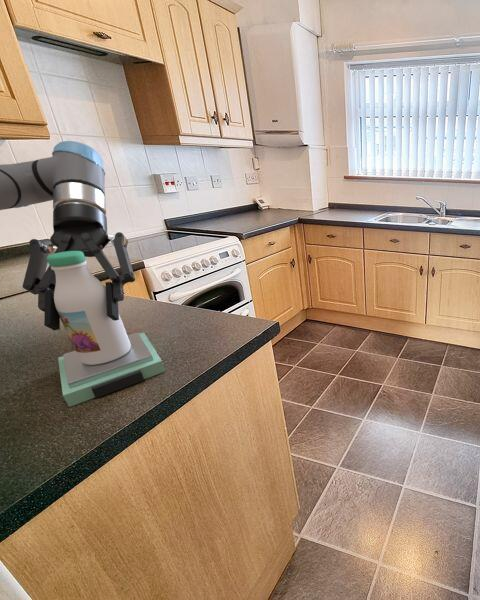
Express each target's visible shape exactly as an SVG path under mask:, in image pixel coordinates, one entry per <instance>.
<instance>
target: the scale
mask: <svg viewBox="0 0 480 600" xmlns="http://www.w3.org/2000/svg"><path fill="white" fill-rule="evenodd" d="M139 334H140V336H141V338H142V339H143V341H144V343H145V344H146V346H147V348H148V349H149V351H150V353H151V354H152V356H153V359H154V360H151V361H148V362H145V363H142V364H139V365H136V366H134V367H131V368H128V369H125V370H122V371H119V372H116V373H113V374H110V375H107V376H104V377H102V378H99V379H96V380H93V381H90V382H87V383H84V384H81V385H78V386H75V387H73V388H70V387H69V385H68V382H67V375H66V369H65V362H64V356H63V355H62V356H58V357H57V360H58V361H57V362H58V370H59V375H60V377H59V378H60V385H61V391H62V397H63V399H64V401H65V403H66V405H67V407H68V408H71V407H74V406H76V405H79V404H81V403H84V402H87V401H89V400H93V399H98V398H101V397H103V396H107V395H109V394H112V393H114V392H118V391H120V390H122V389H125V388H128V387H132V386H133V385H135V384H139V383H141V382H144V381H145V380H146V379H150V378H151V377H154V376H157V375H160V374H162V373H165V372H166V369H165V366H164V363H163V360H162V359H161V357H160V355H159V354H158V353H157V351H156V349H155V347H154V346H153V344H152V343H151V341H150V340H149V338H148V336H147V335H146V334H145V332H139Z"/></svg>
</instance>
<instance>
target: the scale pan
mask: <svg viewBox="0 0 480 600" xmlns="http://www.w3.org/2000/svg"><path fill="white" fill-rule="evenodd" d="M127 336H128V338H129V341H130V344H131V348H130V350H129V351H128V352H127V353H126V354H125V355H123V356H121V357H119V358H117V359H115V360H112V361H109V362H106V363H101V364H95V365H87V364H84V363H82V362H81V361H80V359H79V358H78V356H77V354H76V351H75V350H72V351H68V352H66V353H62V356H64V362H65V369H66V375H67V382H68V385H69V387H70V388H73V387H75V386H78V385H81V384H84V383H87V382H90V381H93V380H96V379H99V378H102V377H104V376H107V375H110V374H113V373H116V372H119V371H122V370H125V369H128V368H131V367H134V366H136V365H139V364H142V363H145V362H148V361H151V360H154V359H153V356H152V354H151V353H150V351H149V349H148V348H147V346H146V344H145V343H144V341H143V339H142V338H141V336H140V332H138V331H137V332H134V333H130V334H127Z"/></svg>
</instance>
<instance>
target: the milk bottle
mask: <svg viewBox="0 0 480 600" xmlns="http://www.w3.org/2000/svg"><path fill="white" fill-rule="evenodd" d="M54 253H55V252H54ZM54 253H52V254H48V255H49V256H47V261H48V263H47V264H48V266H49V265H50V266H51V269H52V270H54V272H55V275H56V286H55V292H54V302H55V306H56V309H57V312H58V314H59V317H60V322H61V323H62V326H63V328H64V330H65V332H66V335H67V336H68V338H69V341H70V343H71V346H72V347H73V349H74V351H76V354H77V356H78V358H79V359H80V361H81V362H82V363H84V364H87V365H95V364H101V363H106V362H109V361H112V360H115V359H117V358H119V357H121V356H123V355H125V354H126V353H127V352H128V351H129V350H130V348H131V344H130V341H129V338H128V336H127V335H128V332H127V331H126V328H125V325H124V323H123V319H122V318H121V315H120V314H119V320H115V321H114V320H112V319H111V318H110V317H108V316H107V304H106V284H104V283H103V282H102V281H100V280H99V278H97V277H96V276H95V275H94V274H93V273H92V272H91V271H90V269H89V267H88V266H87V264H88V261H87V260H86V257H85V256H84V254H83V252H81V251H66V252H60V253H55V254H54Z"/></svg>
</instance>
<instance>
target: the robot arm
mask: <svg viewBox="0 0 480 600" xmlns="http://www.w3.org/2000/svg"><path fill="white" fill-rule="evenodd" d="M51 155H52V156H50V157H44V158H43V157H42V158H39V159H36V160H30V161H21V162H16V163H9V164H7V163H6V164H5V163H4V164H0V211H3V210H10V209H19V208H22V207H24V208H25V207H29V206H32V205H36V204H37V205H38V204H41V203H46V202H50V201H52V209H53V211H52V229H53V233H52V235H51V236H50V238H49V239H44V240H39V239H37V238H33V239H30V240H29V247H30V250H31V251H30V254H29V258H28V262H27V267H26V271H25V275H24V278H23V282H22V288H23V289H24V290H26V291H27V292H29V293H31V294H32V295H35V296H36V295H37V308H38V309H39V310H40V311H42V312H44V316H43V319H44V320H43V321H44V322H43V323H44V326H45V327H46V328H49V329H50V330H52V331H59V330H61V319H60V317H59V314H58V312H57V309H56V306H55V302H54V292H55V286H56V275H55V272H54V270H52V269H51V266H50V265H49V263H48V261H47V256H49V255H50V254H51V253H52V248H53V247H56V249H55V251H54V253H53V254H55V253H60V252H66V251H81V252H83V254H84V256H85V258H94V257H95V259H96V261H97V262H98V263H99V265H100V266H101V268H102V269H103V270H104V272H105V274H106V275H107V277H108V279H109V280H110V281H106V282H105V284H104V285H105V287H106V304H107V316H108V317H110V318H111V319H112V320H114V321H115V320H119V315H120V312H119V302H124V299H125V293H124V292H125V291H124V286H125V285H126V284H128V283H134V282H135V281H136V275H135V273H134V269H133V266H132V262H131V259H130V256H129V253H128V244H129V240H128V239H127V238H126V236H125V235H124V233H122V231H119V232H116V233H115V234H110V233H108V220H107V219H108V218H107V200H106V193H105V190H106V189H105V185H106V184H105V177H106V170H105V167H104V161H103V157H102V156H101V154H100V153H99V151H97V150H96V149H95V148H93V147H91V146H90V145H88V144H85V143H83V142H80V141H73V140H64V141H60V142H58V143H57V144H56V145H55V146H54V147H53V150H52V152H51ZM109 243H111V245H112V246H113V247H114V249H115V253H116V257H117V260H118V264H119V268H120V271H121V274H119V273H118V272H117V270H116V269H115V268H114V266H113V264H112V263H111V262H110V260H109V259H108V257H107V255H106V254H105V253H104V251H103V250H104V249H105V248H106V247H107V245H108V244H109ZM47 266H48V267H47Z"/></svg>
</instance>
